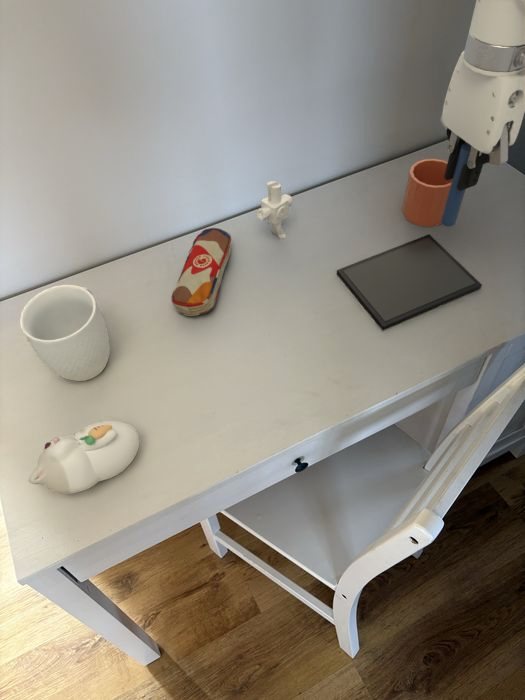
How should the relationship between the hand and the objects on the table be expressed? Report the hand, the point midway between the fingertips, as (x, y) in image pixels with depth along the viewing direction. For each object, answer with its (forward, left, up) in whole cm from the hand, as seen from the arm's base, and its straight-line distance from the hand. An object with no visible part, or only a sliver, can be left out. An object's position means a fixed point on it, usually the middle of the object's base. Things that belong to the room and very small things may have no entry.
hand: (460, 180), depth 78 cm
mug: (+59, -12, -21) cm, 64 cm away
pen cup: (-10, -16, -21) cm, 28 cm away
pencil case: (+35, -20, -21) cm, 45 cm away
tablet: (+4, -2, -21) cm, 21 cm away
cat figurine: (+63, +8, -21) cm, 67 cm away
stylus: (0, 0, -8) cm, 8 cm away
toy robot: (+19, -24, -21) cm, 37 cm away
